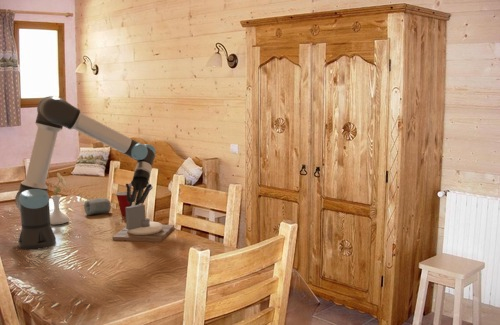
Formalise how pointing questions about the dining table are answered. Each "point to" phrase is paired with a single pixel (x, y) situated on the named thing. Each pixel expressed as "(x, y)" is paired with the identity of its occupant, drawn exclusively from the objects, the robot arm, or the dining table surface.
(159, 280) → the dining table surface
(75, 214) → the dining table surface
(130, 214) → the dial
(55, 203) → the flower in vase
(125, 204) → the plastic cup
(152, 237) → the dial plate
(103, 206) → the rolled towel
